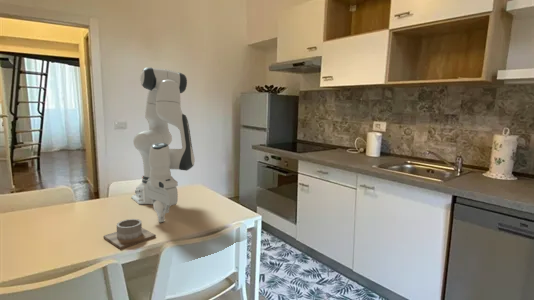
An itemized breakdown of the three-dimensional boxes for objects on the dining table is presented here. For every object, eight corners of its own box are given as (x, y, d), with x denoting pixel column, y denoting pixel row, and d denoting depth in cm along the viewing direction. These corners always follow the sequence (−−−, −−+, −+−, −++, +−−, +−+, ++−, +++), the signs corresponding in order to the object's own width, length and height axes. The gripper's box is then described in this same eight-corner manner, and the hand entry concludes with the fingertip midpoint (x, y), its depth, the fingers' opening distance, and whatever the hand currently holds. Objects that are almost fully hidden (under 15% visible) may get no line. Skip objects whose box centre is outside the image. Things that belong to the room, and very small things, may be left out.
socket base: (103, 238, 118) (102, 223, 117) (137, 227, 129) (137, 214, 128) (120, 249, 109) (119, 233, 108) (155, 237, 120) (155, 222, 119)
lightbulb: (154, 226, 131) (154, 201, 129) (153, 220, 137) (152, 197, 135) (169, 223, 134) (169, 199, 132) (167, 218, 139) (167, 196, 138)
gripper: (141, 177, 136) (142, 206, 138) (167, 185, 124) (167, 217, 126) (154, 175, 141) (154, 203, 143) (180, 183, 129) (180, 214, 131)
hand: (161, 210), depth 134 cm, fingers open, 7 cm apart
